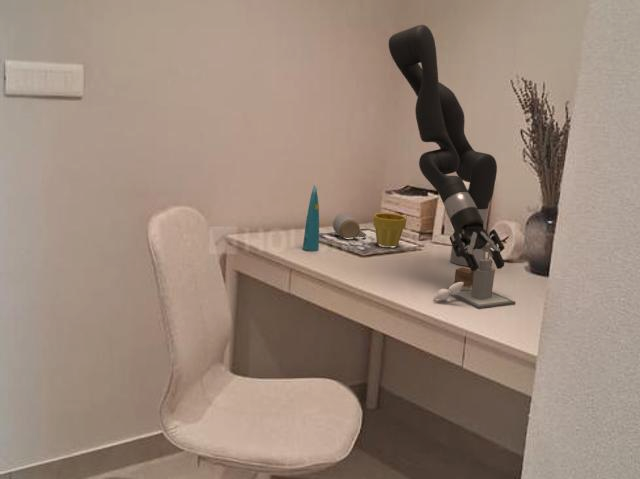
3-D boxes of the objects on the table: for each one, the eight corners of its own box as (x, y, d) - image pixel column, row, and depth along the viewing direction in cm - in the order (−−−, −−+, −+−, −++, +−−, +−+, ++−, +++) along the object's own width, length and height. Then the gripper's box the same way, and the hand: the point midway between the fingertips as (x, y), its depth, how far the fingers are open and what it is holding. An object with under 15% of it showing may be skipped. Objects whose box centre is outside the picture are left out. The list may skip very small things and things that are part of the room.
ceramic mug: (338, 240, 231) (341, 217, 230) (331, 234, 239) (333, 212, 237) (369, 241, 234) (372, 218, 233) (361, 235, 242) (363, 213, 240)
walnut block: (461, 281, 195) (463, 267, 194) (474, 284, 192) (476, 270, 191) (454, 283, 192) (455, 269, 191) (467, 287, 189) (468, 273, 188)
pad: (482, 290, 187) (482, 287, 187) (515, 304, 177) (515, 301, 177) (446, 294, 182) (447, 291, 181) (478, 308, 171) (479, 306, 171)
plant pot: (405, 250, 224) (408, 220, 222) (372, 248, 224) (375, 218, 222) (401, 243, 234) (404, 214, 232) (370, 241, 234) (373, 211, 232)
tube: (320, 252, 215) (325, 189, 210) (305, 252, 213) (309, 188, 209) (315, 246, 222) (320, 185, 217) (300, 246, 221) (304, 184, 216)
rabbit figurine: (429, 297, 178) (458, 284, 179) (437, 311, 177) (465, 297, 177) (431, 291, 172) (461, 277, 173) (439, 305, 171) (468, 291, 172)
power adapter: (492, 296, 180) (498, 250, 177) (480, 300, 176) (486, 253, 174) (482, 293, 182) (488, 247, 179) (469, 296, 179) (475, 250, 176)
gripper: (449, 206, 177) (475, 262, 170) (492, 205, 184) (518, 259, 177) (433, 222, 183) (458, 278, 176) (475, 220, 190) (500, 273, 183)
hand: (488, 268), depth 177 cm, fingers open, 8 cm apart
